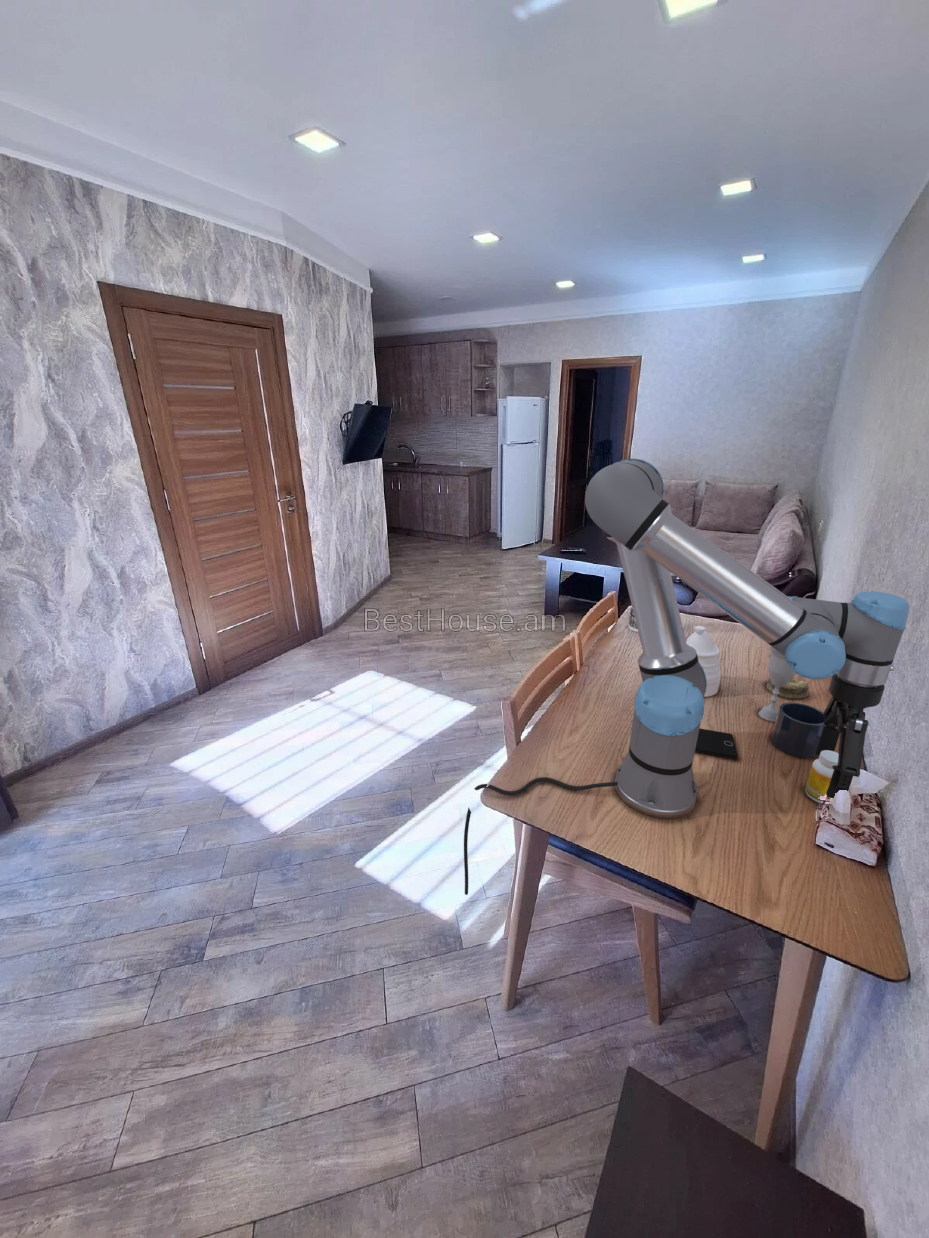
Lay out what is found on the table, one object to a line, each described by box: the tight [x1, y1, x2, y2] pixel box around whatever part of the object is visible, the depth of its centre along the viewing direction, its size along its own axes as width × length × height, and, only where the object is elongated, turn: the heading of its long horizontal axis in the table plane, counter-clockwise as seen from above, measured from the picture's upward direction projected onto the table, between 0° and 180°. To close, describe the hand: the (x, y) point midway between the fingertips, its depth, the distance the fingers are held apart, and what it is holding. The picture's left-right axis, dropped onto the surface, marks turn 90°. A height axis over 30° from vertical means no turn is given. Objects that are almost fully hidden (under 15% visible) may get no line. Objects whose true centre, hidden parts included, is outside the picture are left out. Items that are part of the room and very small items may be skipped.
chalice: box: [758, 645, 797, 723], centre depth 122 cm, size 7×7×18 cm
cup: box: [771, 701, 826, 759], centre depth 113 cm, size 9×9×8 cm
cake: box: [765, 677, 810, 700], centre depth 136 cm, size 10×10×5 cm
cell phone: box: [695, 727, 739, 760], centre depth 116 cm, size 9×18×1 cm, turn 71°
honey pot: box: [686, 625, 722, 698], centre depth 137 cm, size 13×13×18 cm
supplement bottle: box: [804, 750, 839, 805], centre depth 97 cm, size 5×5×10 cm
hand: (829, 775), depth 97 cm, fingers open, 13 cm apart
